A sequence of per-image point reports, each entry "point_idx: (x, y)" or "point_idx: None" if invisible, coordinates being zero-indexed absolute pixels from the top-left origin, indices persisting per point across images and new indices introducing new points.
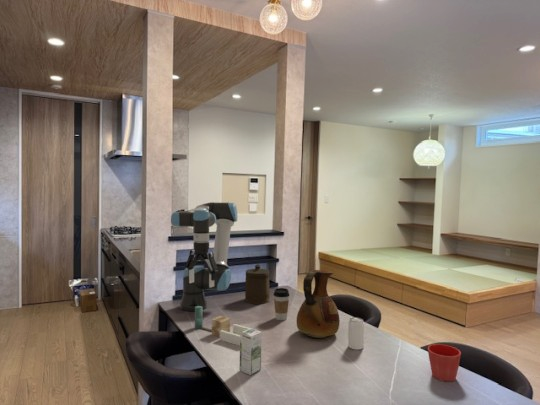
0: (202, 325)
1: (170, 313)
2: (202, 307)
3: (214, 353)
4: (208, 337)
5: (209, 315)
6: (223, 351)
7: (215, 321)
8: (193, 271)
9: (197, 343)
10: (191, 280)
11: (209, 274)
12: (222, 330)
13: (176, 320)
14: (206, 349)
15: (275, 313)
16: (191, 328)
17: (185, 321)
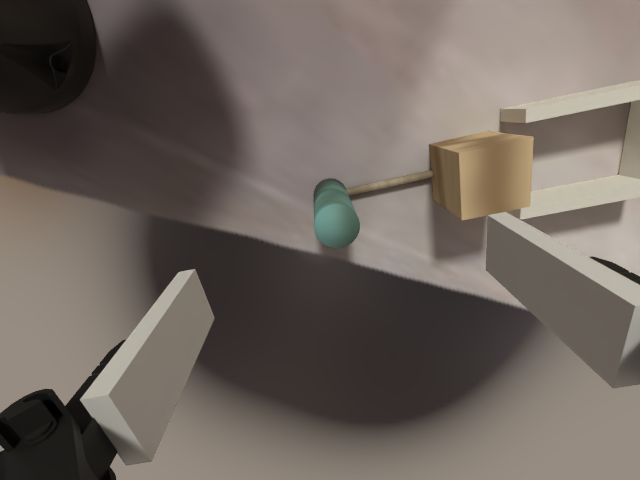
0: (342, 184)
1: (64, 188)
2: (354, 211)
3: None
4: (444, 225)
5: (212, 42)
6: None
7: (484, 213)
8: (137, 374)
9: (452, 281)
10: (201, 319)
11: (611, 379)
12: (527, 208)
13: (182, 217)
14: None
15: None
16: None
17: (220, 195)
